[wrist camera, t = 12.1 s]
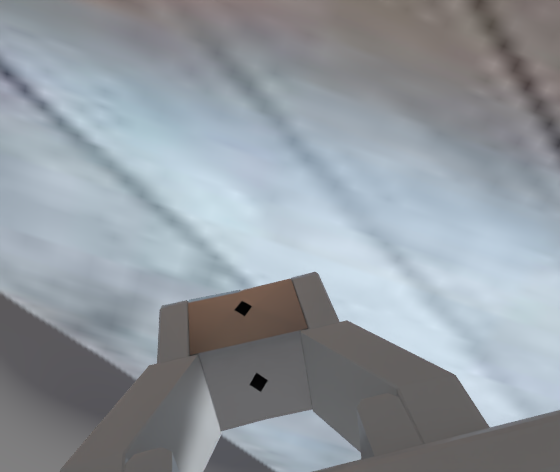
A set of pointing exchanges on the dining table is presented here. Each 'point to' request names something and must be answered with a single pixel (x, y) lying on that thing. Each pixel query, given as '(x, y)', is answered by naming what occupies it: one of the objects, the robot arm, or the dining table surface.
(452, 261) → the dining table surface
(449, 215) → the dining table surface
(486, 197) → the dining table surface
